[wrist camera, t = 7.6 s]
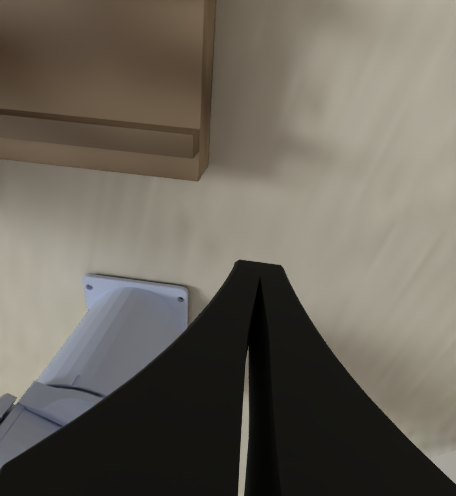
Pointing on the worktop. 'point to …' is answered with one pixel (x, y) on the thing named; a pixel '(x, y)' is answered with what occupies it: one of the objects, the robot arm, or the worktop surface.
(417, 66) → the worktop surface
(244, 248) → the worktop surface
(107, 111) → the brown wooden moulding block
